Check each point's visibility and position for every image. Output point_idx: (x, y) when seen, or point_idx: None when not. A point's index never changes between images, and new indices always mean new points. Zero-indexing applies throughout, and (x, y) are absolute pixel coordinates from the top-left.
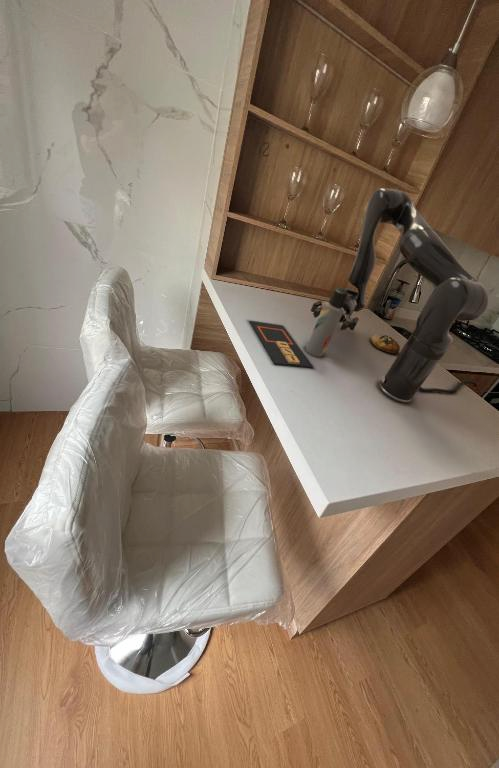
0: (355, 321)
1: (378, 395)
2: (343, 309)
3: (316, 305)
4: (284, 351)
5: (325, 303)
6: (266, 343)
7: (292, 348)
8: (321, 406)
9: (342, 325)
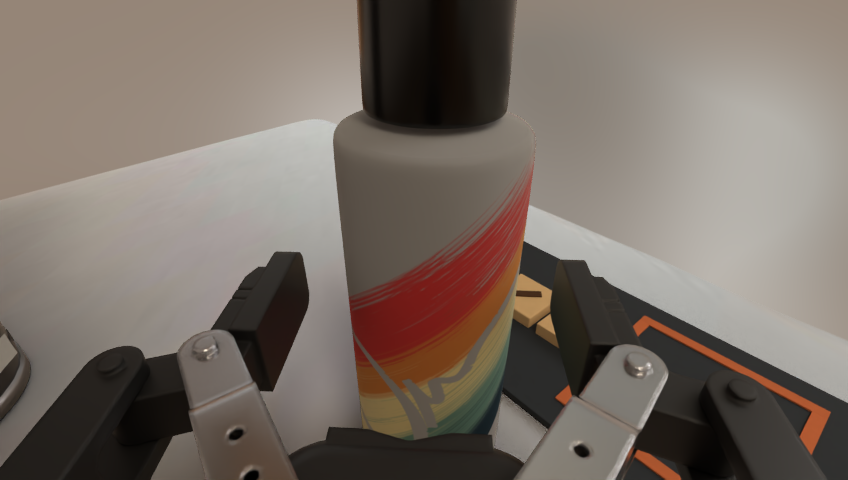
0: (86, 401)
1: (77, 334)
2: (341, 127)
3: (704, 386)
4: (532, 282)
5: (523, 120)
6: (628, 304)
7: (534, 358)
8: (337, 195)
9: (300, 264)
